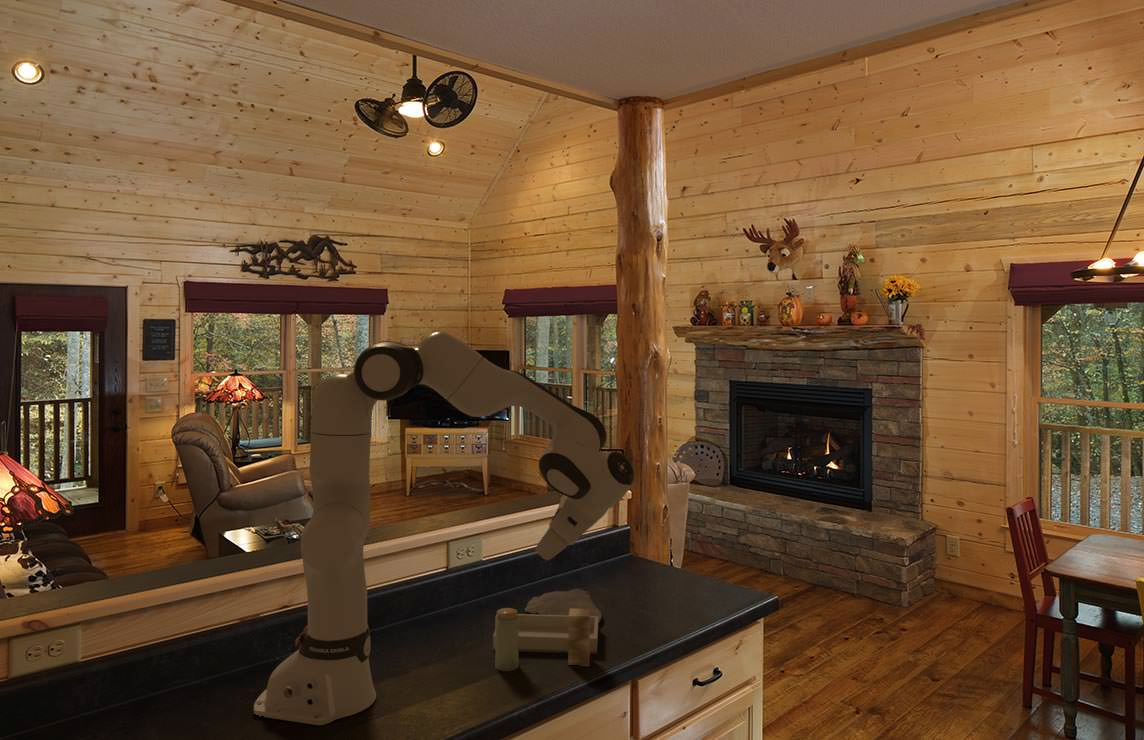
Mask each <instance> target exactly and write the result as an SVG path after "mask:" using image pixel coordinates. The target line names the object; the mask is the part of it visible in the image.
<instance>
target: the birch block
mask: <svg viewBox="0 0 1144 740" xmlns="http://www.w3.org/2000/svg"><path fill="white" fill-rule="evenodd" d="M567 654H568V655H567V657H568V659H567V661H568V663H567V664H568V665H580V666H579V667H590V659H591V658H590V655H591V654H590V609H572V608H570V611H569V632H568V653H567Z"/></svg>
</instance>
